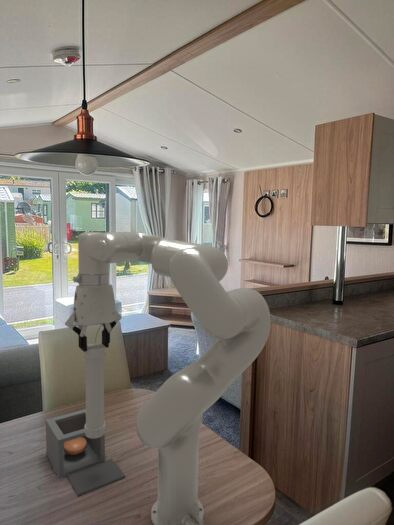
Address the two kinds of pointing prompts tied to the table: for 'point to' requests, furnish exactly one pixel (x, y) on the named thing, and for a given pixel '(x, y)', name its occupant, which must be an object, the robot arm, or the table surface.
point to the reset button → (75, 446)
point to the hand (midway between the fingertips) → (94, 347)
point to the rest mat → (95, 477)
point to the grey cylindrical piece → (95, 390)
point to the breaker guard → (65, 431)
